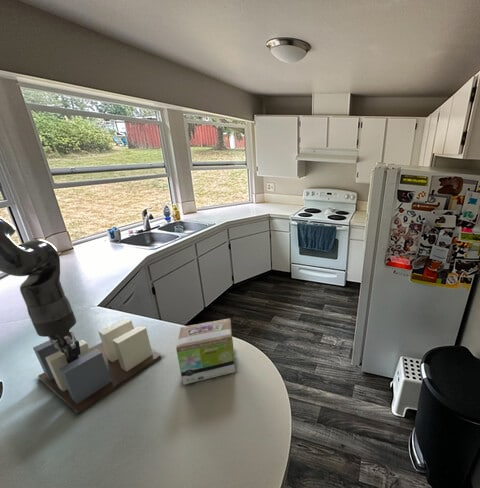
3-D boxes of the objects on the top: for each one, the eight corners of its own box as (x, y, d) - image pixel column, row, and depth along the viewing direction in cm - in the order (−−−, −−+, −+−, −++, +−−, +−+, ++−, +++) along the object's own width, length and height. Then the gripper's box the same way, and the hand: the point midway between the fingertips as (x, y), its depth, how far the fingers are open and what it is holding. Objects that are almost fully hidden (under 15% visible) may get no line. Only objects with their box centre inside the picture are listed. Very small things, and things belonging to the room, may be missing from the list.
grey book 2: (77, 404, 68) (64, 373, 64) (71, 399, 69) (58, 368, 65) (111, 381, 74) (101, 352, 71) (106, 377, 76) (96, 348, 72)
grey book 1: (50, 380, 74) (37, 351, 70) (46, 376, 75) (32, 347, 71) (84, 361, 81) (73, 334, 77) (79, 358, 82) (69, 331, 78)
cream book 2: (112, 362, 81) (103, 334, 77) (107, 358, 82) (98, 331, 78) (138, 346, 88) (131, 320, 84) (133, 343, 89) (126, 317, 85)
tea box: (183, 387, 75) (174, 348, 70) (186, 362, 83) (179, 325, 78) (235, 373, 80) (231, 335, 75) (234, 351, 89) (230, 316, 84)
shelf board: (78, 414, 66) (77, 411, 66) (39, 378, 76) (37, 375, 75) (161, 358, 85) (160, 355, 84) (121, 335, 94) (120, 332, 94)
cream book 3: (126, 371, 78) (117, 343, 74) (121, 368, 79) (112, 340, 75) (152, 354, 84) (146, 328, 81) (147, 351, 86) (140, 325, 82)
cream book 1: (63, 391, 71) (50, 361, 67) (58, 387, 72) (45, 357, 68) (97, 371, 78) (87, 342, 74) (92, 367, 79) (82, 339, 75)
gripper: (21, 313, 66) (43, 363, 72) (44, 330, 61) (67, 383, 67) (58, 299, 73) (77, 346, 79) (83, 313, 67) (100, 363, 73)
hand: (72, 363), depth 73 cm, fingers closed on cream book 1, 3 cm apart
